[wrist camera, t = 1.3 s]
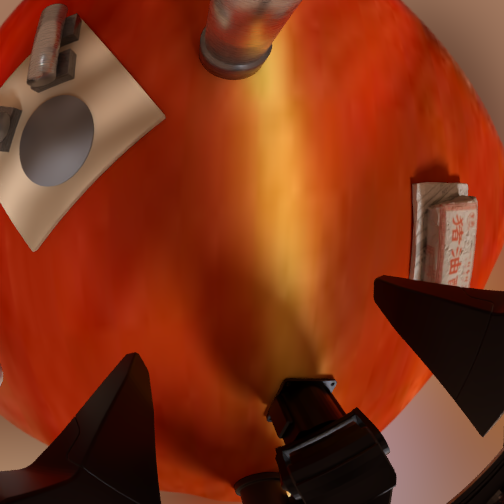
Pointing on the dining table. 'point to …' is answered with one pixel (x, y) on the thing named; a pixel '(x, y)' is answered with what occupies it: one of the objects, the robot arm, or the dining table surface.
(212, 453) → the dining table surface
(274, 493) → the light fixture
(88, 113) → the board
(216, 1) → the drinking glass
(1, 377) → the mug
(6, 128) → the shaft
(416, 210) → the packaged product
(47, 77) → the shaft
